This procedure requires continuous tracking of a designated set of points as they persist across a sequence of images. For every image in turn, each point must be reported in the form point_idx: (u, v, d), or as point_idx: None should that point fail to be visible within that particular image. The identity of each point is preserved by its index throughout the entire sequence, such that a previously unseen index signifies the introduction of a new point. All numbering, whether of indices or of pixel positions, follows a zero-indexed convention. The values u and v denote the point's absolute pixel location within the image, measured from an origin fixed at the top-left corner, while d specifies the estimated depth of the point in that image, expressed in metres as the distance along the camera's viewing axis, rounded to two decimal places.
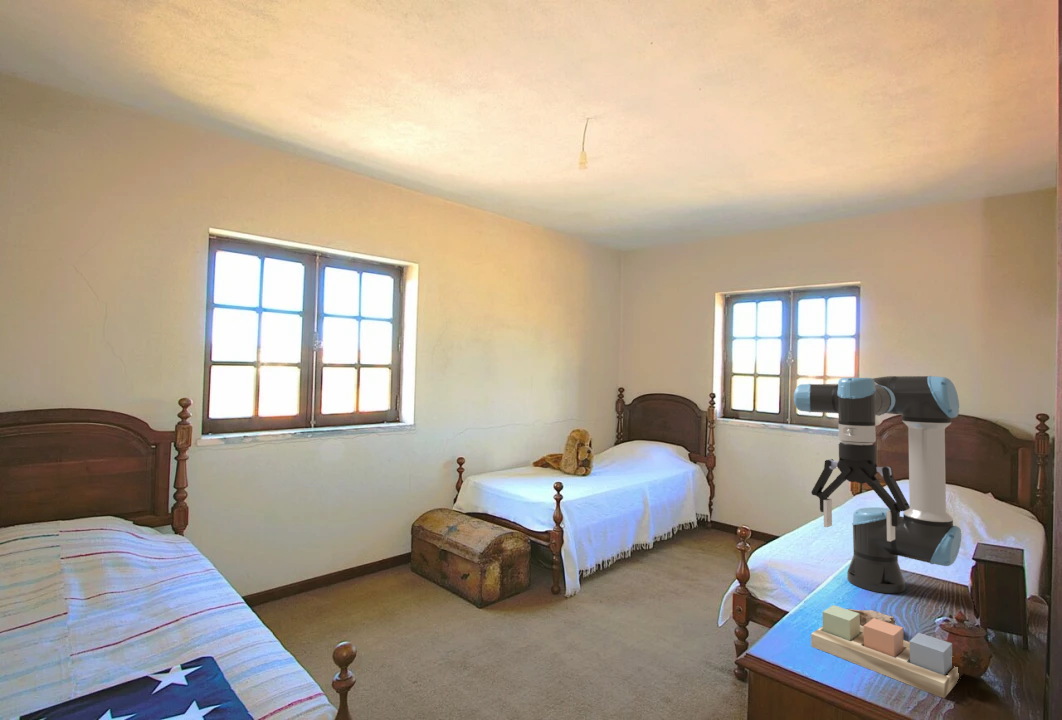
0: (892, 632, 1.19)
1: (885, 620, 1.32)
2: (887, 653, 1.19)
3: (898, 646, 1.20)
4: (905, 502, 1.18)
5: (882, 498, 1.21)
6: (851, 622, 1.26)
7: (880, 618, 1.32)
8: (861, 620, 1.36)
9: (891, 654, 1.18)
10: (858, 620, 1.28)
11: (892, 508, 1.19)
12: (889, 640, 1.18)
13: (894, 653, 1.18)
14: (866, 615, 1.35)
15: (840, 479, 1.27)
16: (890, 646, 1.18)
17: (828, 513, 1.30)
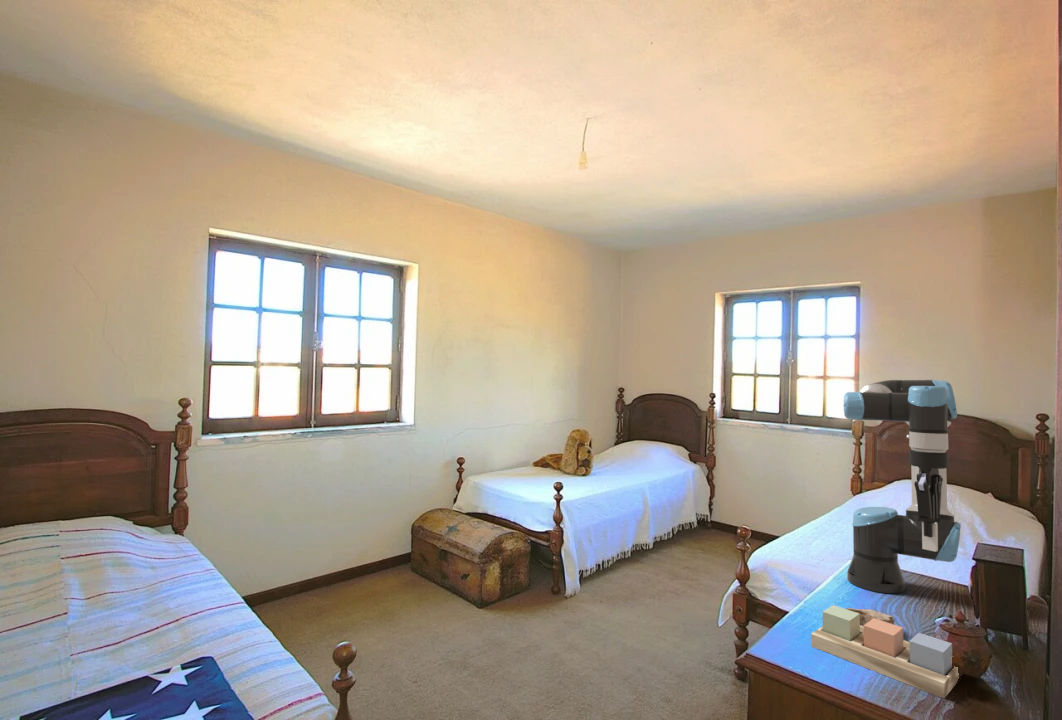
0: (892, 632, 1.19)
1: (884, 619, 1.32)
2: (887, 653, 1.19)
3: (898, 646, 1.20)
4: (925, 515, 1.24)
5: None
6: (851, 622, 1.26)
7: (879, 617, 1.33)
8: (860, 619, 1.37)
9: (891, 654, 1.18)
10: (858, 620, 1.28)
11: None
12: (889, 640, 1.18)
13: (894, 653, 1.18)
14: (864, 614, 1.36)
15: None
16: (890, 646, 1.18)
17: None
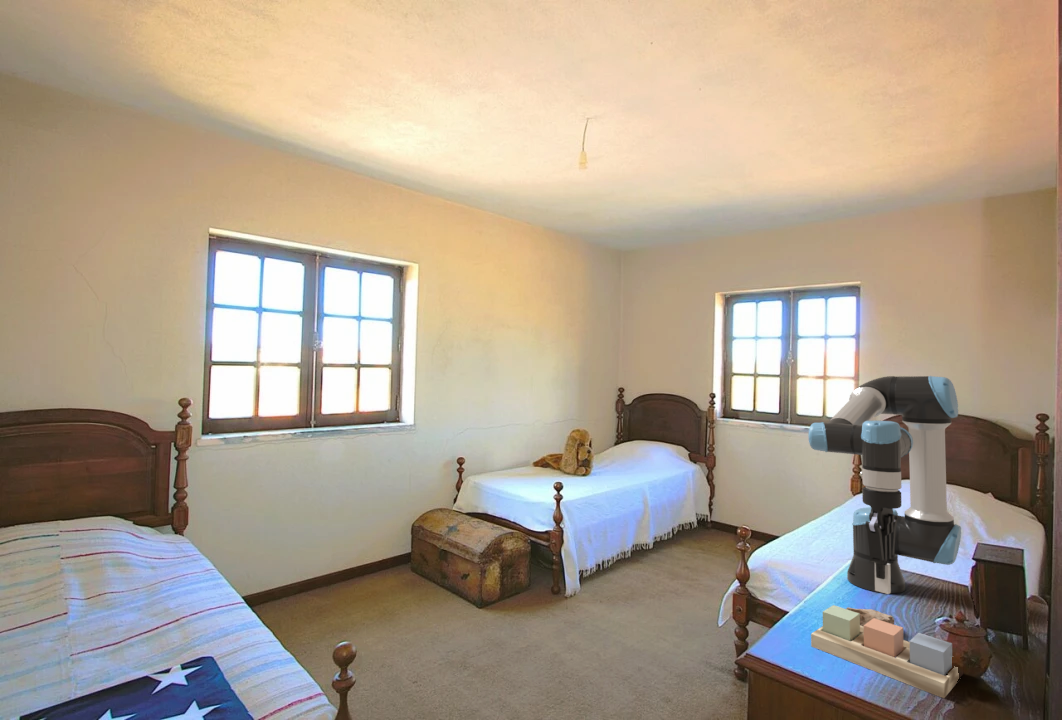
0: (892, 632, 1.19)
1: (883, 619, 1.32)
2: (887, 653, 1.19)
3: (898, 646, 1.20)
4: (877, 557, 1.20)
5: None
6: (851, 622, 1.26)
7: (878, 617, 1.33)
8: (860, 619, 1.37)
9: (891, 654, 1.18)
10: (858, 620, 1.28)
11: None
12: (889, 640, 1.18)
13: (894, 653, 1.18)
14: (864, 613, 1.36)
15: None
16: (890, 646, 1.18)
17: None
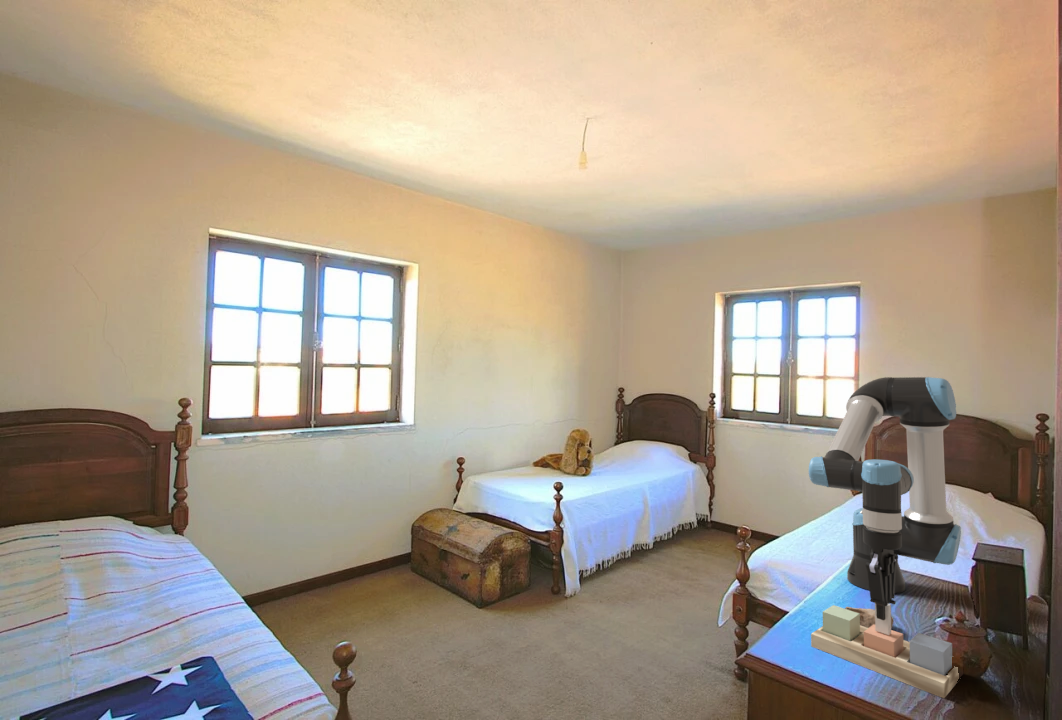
0: (892, 638, 1.19)
1: None
2: None
3: (898, 652, 1.20)
4: (877, 598, 1.20)
5: None
6: (851, 622, 1.26)
7: None
8: None
9: None
10: (858, 620, 1.28)
11: None
12: (889, 647, 1.18)
13: None
14: (863, 613, 1.37)
15: None
16: (890, 652, 1.18)
17: None
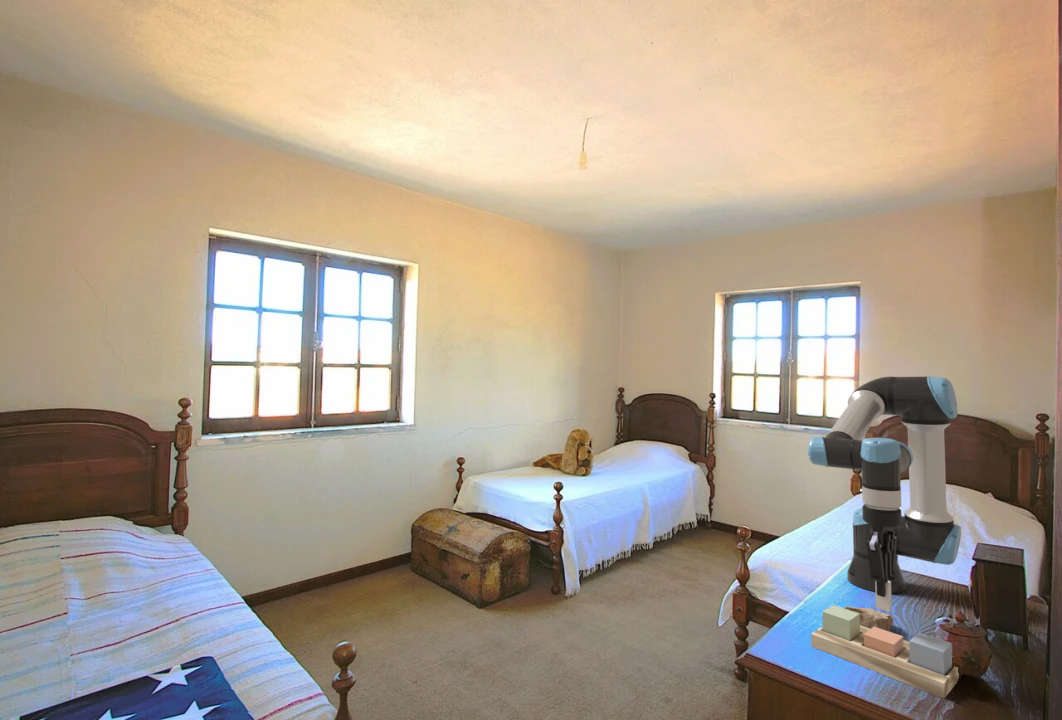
0: (892, 640, 1.19)
1: (881, 618, 1.33)
2: None
3: None
4: (877, 575, 1.20)
5: None
6: (851, 622, 1.26)
7: (876, 616, 1.34)
8: None
9: None
10: (858, 620, 1.28)
11: None
12: (889, 649, 1.18)
13: None
14: (863, 612, 1.37)
15: None
16: (890, 655, 1.18)
17: None
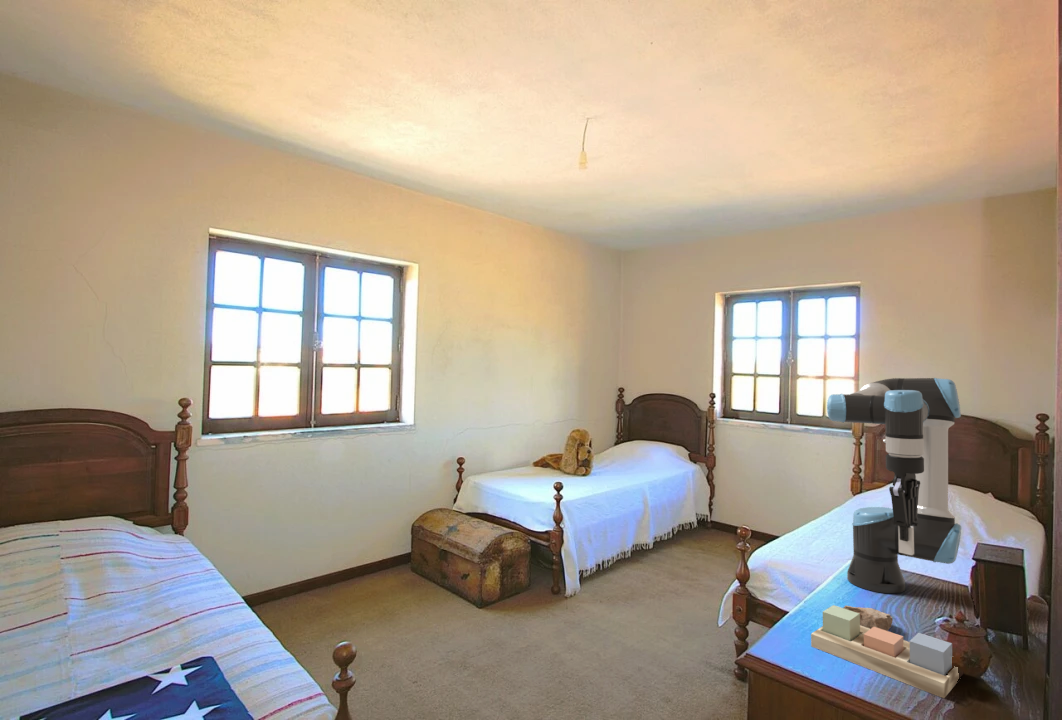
0: (892, 640, 1.19)
1: (880, 617, 1.33)
2: None
3: None
4: (900, 520, 1.25)
5: None
6: (851, 622, 1.26)
7: (876, 615, 1.34)
8: None
9: None
10: (858, 620, 1.28)
11: None
12: (889, 649, 1.18)
13: None
14: (862, 612, 1.37)
15: None
16: (890, 655, 1.18)
17: None
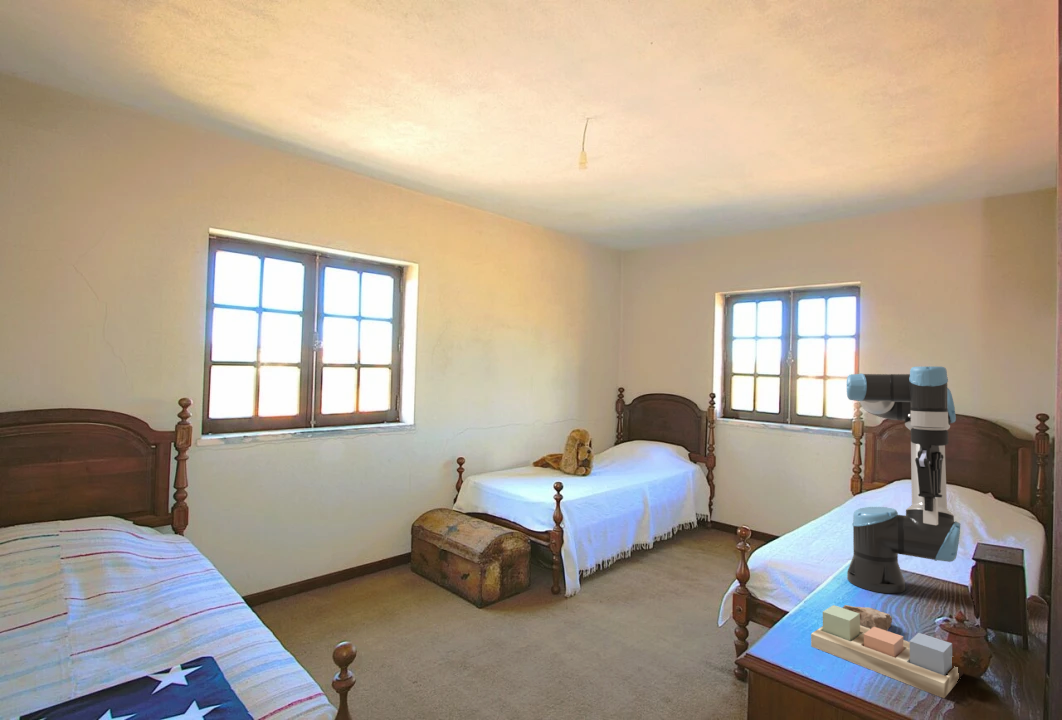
0: (892, 640, 1.19)
1: (880, 617, 1.34)
2: None
3: None
4: (926, 491, 1.29)
5: None
6: (851, 622, 1.26)
7: (875, 615, 1.34)
8: None
9: None
10: (858, 620, 1.28)
11: None
12: (889, 649, 1.18)
13: None
14: (861, 611, 1.38)
15: None
16: (890, 655, 1.18)
17: None
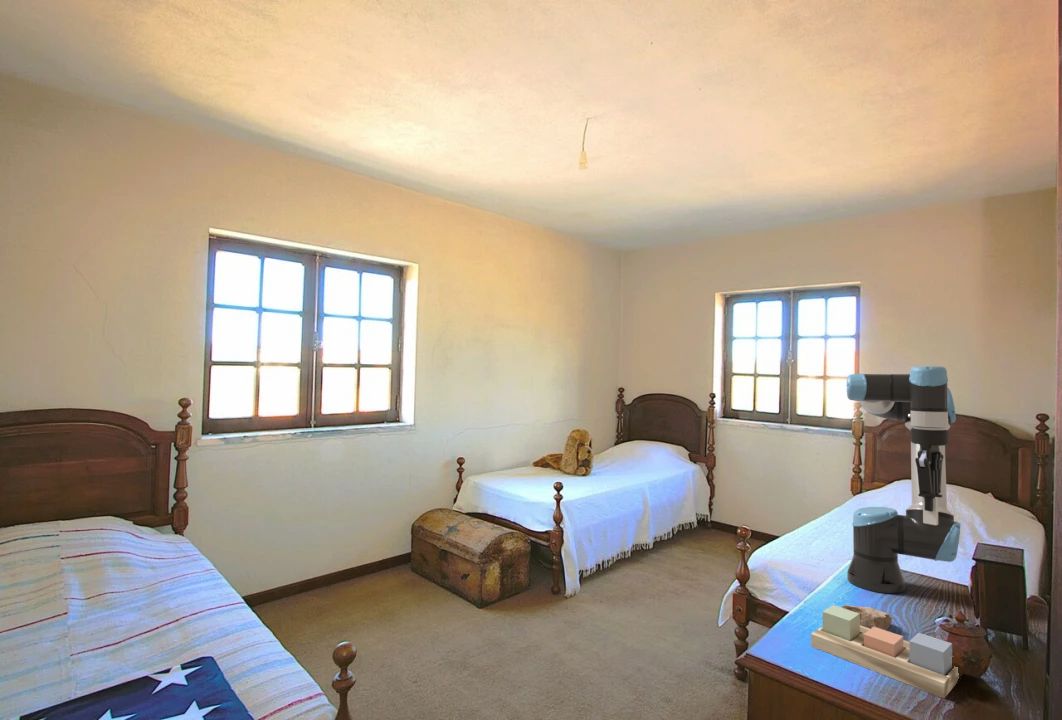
0: (892, 640, 1.19)
1: (879, 616, 1.34)
2: None
3: None
4: (926, 491, 1.29)
5: None
6: (851, 622, 1.26)
7: (874, 614, 1.35)
8: None
9: None
10: (858, 620, 1.28)
11: None
12: (889, 649, 1.18)
13: None
14: (861, 611, 1.38)
15: None
16: (890, 655, 1.18)
17: None
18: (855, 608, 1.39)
